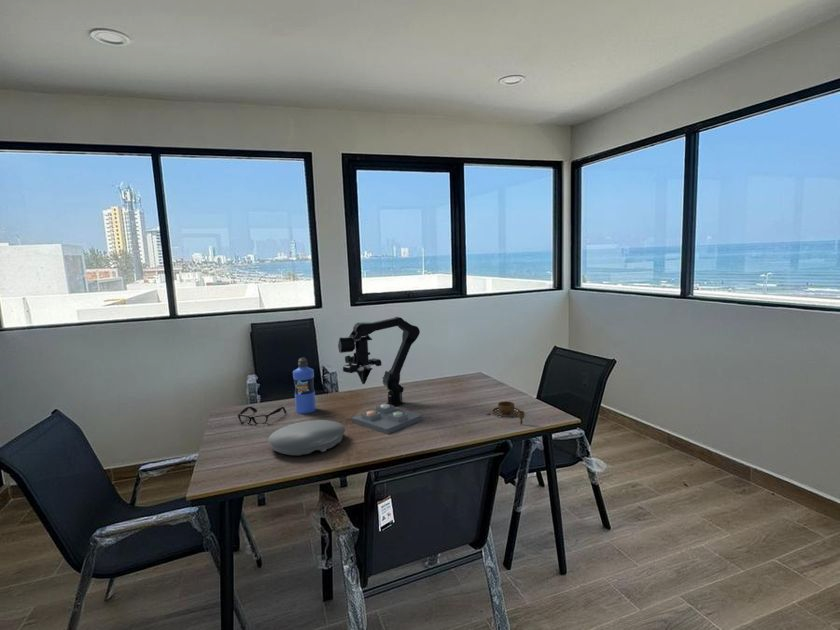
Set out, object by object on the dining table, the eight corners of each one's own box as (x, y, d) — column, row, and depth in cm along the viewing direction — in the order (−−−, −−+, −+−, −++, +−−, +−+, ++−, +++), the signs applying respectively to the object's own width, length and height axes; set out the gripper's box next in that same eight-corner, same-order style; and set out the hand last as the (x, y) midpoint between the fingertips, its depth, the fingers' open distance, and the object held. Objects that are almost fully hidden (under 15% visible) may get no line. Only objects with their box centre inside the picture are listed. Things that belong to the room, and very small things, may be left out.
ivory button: (385, 407, 201) (385, 403, 201) (391, 409, 199) (391, 404, 198) (378, 410, 198) (378, 405, 198) (385, 411, 196) (384, 407, 195)
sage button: (398, 415, 190) (397, 410, 190) (404, 417, 188) (404, 412, 187) (391, 418, 187) (391, 413, 187) (397, 420, 185) (397, 415, 184)
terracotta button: (371, 414, 193) (371, 410, 192) (378, 416, 190) (377, 411, 190) (364, 417, 190) (364, 412, 189) (370, 419, 187) (370, 414, 187)
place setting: (528, 411, 199) (528, 398, 198) (526, 427, 179) (526, 413, 179) (488, 409, 203) (488, 396, 203) (482, 424, 184) (482, 410, 184)
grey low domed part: (315, 425, 189) (314, 415, 189) (361, 440, 171) (360, 429, 171) (254, 449, 168) (253, 438, 167) (299, 468, 150) (298, 456, 150)
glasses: (234, 426, 195) (233, 415, 194) (254, 411, 212) (253, 401, 211) (270, 427, 192) (269, 416, 192) (287, 411, 210) (286, 401, 209)
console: (386, 409, 206) (385, 401, 205) (421, 419, 191) (421, 410, 190) (351, 422, 191) (351, 413, 191) (387, 434, 176) (386, 424, 176)
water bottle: (313, 413, 204) (309, 359, 202) (293, 414, 205) (289, 360, 202) (318, 407, 214) (315, 355, 211) (298, 407, 214) (295, 356, 211)
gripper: (365, 345, 217) (367, 377, 219) (334, 352, 204) (336, 385, 205) (381, 347, 210) (383, 380, 212) (350, 354, 196) (351, 389, 198)
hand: (363, 383), depth 207 cm, fingers closed
